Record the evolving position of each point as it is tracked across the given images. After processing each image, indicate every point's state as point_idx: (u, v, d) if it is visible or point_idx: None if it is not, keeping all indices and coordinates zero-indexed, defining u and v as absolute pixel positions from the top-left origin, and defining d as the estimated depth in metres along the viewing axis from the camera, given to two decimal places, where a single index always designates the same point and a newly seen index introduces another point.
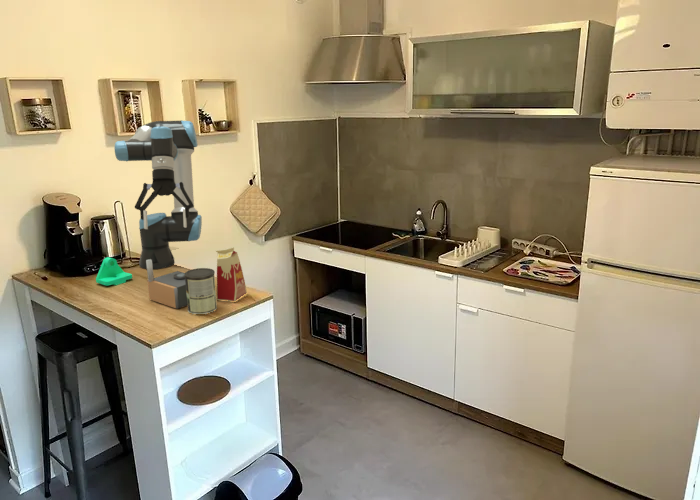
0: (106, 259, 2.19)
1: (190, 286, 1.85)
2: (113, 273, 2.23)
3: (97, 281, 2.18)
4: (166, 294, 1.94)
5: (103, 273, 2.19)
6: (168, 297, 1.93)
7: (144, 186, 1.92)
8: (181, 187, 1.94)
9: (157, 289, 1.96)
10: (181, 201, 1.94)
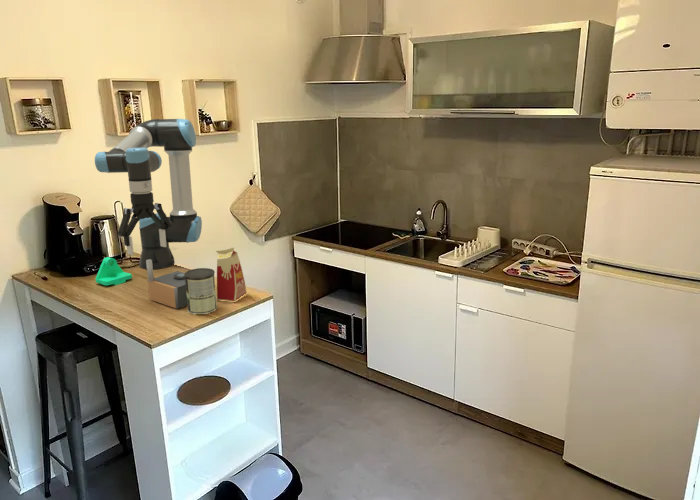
0: (105, 259, 2.20)
1: (190, 286, 1.85)
2: (113, 273, 2.23)
3: (97, 281, 2.18)
4: (166, 294, 1.94)
5: (103, 273, 2.19)
6: (168, 297, 1.93)
7: (128, 212, 1.85)
8: (160, 209, 1.95)
9: (157, 289, 1.96)
10: (161, 222, 1.97)
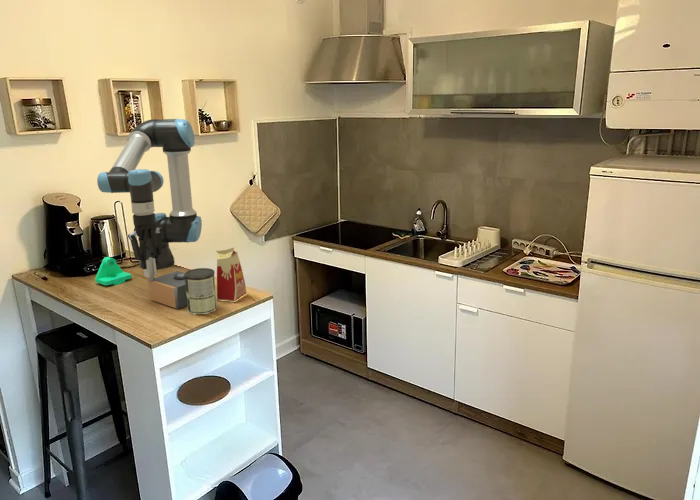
0: (105, 259, 2.20)
1: (190, 286, 1.85)
2: (112, 273, 2.23)
3: (96, 281, 2.18)
4: (166, 294, 1.94)
5: (102, 273, 2.20)
6: (168, 297, 1.93)
7: (133, 238, 1.88)
8: (160, 233, 1.97)
9: (157, 289, 1.96)
10: (154, 249, 1.96)
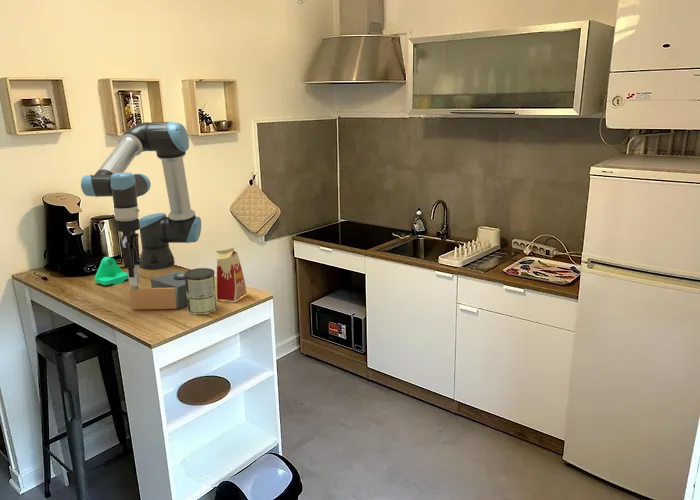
0: (104, 259, 2.20)
1: (190, 286, 1.85)
2: (112, 273, 2.24)
3: (96, 280, 2.19)
4: (162, 298, 1.91)
5: (102, 273, 2.20)
6: (165, 300, 1.91)
7: (128, 245, 1.80)
8: (137, 238, 1.90)
9: (147, 295, 1.90)
10: (136, 255, 1.89)
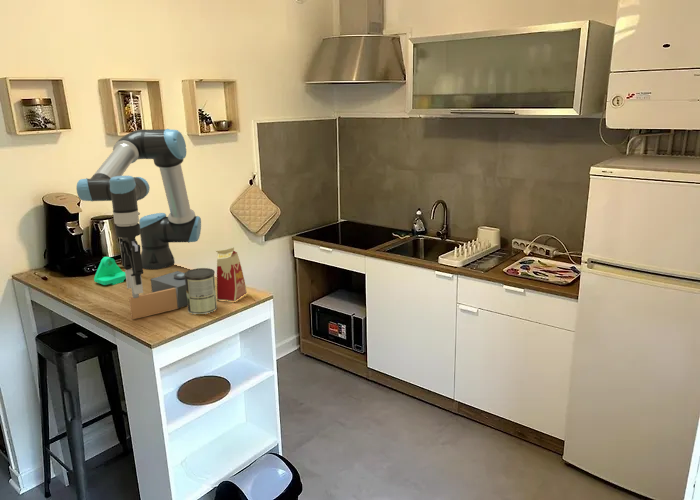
0: (104, 258, 2.20)
1: (190, 286, 1.85)
2: (111, 272, 2.24)
3: (95, 280, 2.19)
4: (163, 300, 1.88)
5: (101, 273, 2.20)
6: (167, 302, 1.89)
7: None
8: None
9: (148, 300, 1.85)
10: None
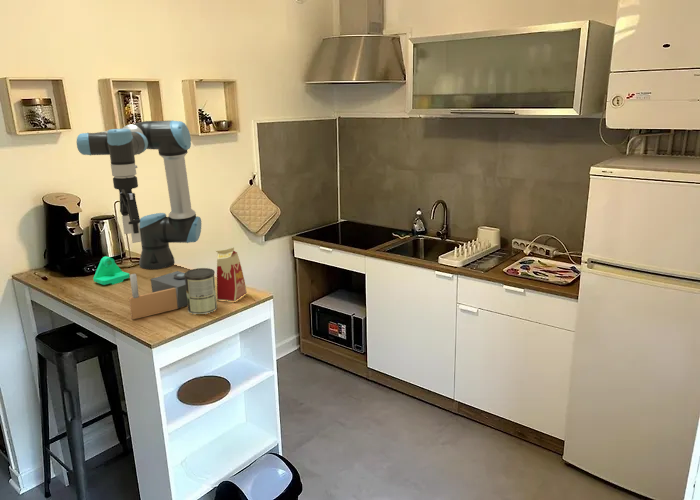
0: (103, 258, 2.21)
1: (190, 286, 1.85)
2: (111, 272, 2.24)
3: (94, 280, 2.19)
4: (163, 300, 1.88)
5: (101, 272, 2.21)
6: (167, 302, 1.89)
7: None
8: None
9: (148, 300, 1.85)
10: None
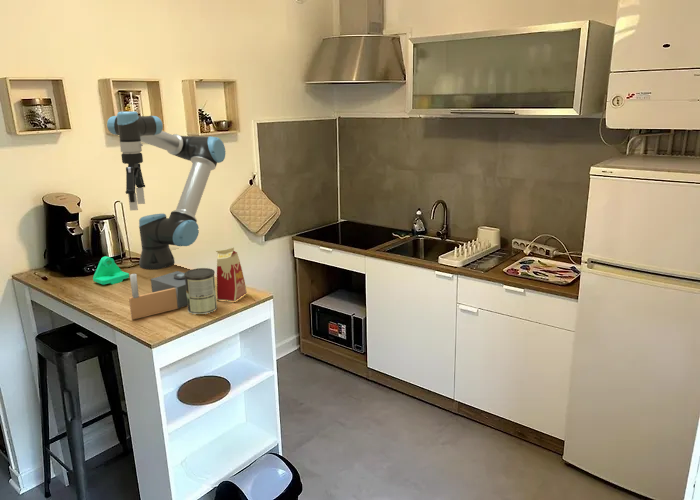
0: (103, 258, 2.21)
1: (190, 286, 1.85)
2: (111, 272, 2.24)
3: (94, 280, 2.20)
4: (163, 300, 1.88)
5: (100, 272, 2.21)
6: (167, 302, 1.89)
7: (133, 170, 2.02)
8: (140, 168, 2.15)
9: (148, 300, 1.85)
10: (141, 181, 2.16)
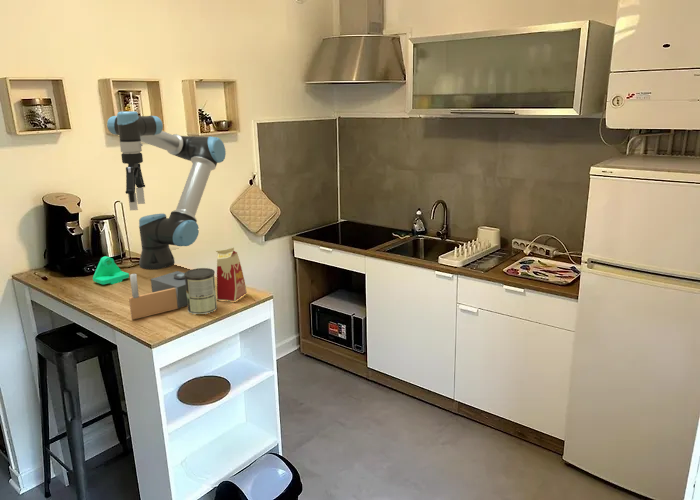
0: (103, 258, 2.21)
1: (190, 286, 1.85)
2: (110, 272, 2.24)
3: (94, 280, 2.20)
4: (163, 300, 1.88)
5: (100, 272, 2.21)
6: (167, 302, 1.89)
7: (132, 170, 2.02)
8: (140, 168, 2.15)
9: (148, 300, 1.85)
10: (141, 181, 2.16)
